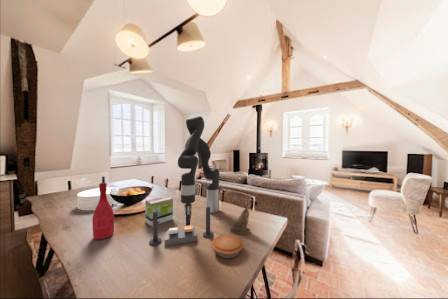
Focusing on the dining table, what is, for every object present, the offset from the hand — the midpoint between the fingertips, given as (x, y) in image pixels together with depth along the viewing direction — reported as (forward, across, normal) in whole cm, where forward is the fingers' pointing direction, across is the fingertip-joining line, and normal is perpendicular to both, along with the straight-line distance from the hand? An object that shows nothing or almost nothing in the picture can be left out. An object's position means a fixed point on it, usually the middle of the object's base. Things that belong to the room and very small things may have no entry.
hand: (188, 224), depth 89 cm
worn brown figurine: (+8, +2, -30) cm, 31 cm away
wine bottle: (+9, +16, +46) cm, 49 cm away
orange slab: (+3, +2, 0) cm, 4 cm away
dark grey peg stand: (+8, +2, -11) cm, 14 cm away
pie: (+9, -13, -18) cm, 24 cm away
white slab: (+3, +2, +8) cm, 9 cm away
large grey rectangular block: (+8, +2, +4) cm, 10 cm away
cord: (+8, +2, +17) cm, 19 cm away
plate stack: (+9, +74, +72) cm, 104 cm away
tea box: (+9, +28, +18) cm, 35 cm away
